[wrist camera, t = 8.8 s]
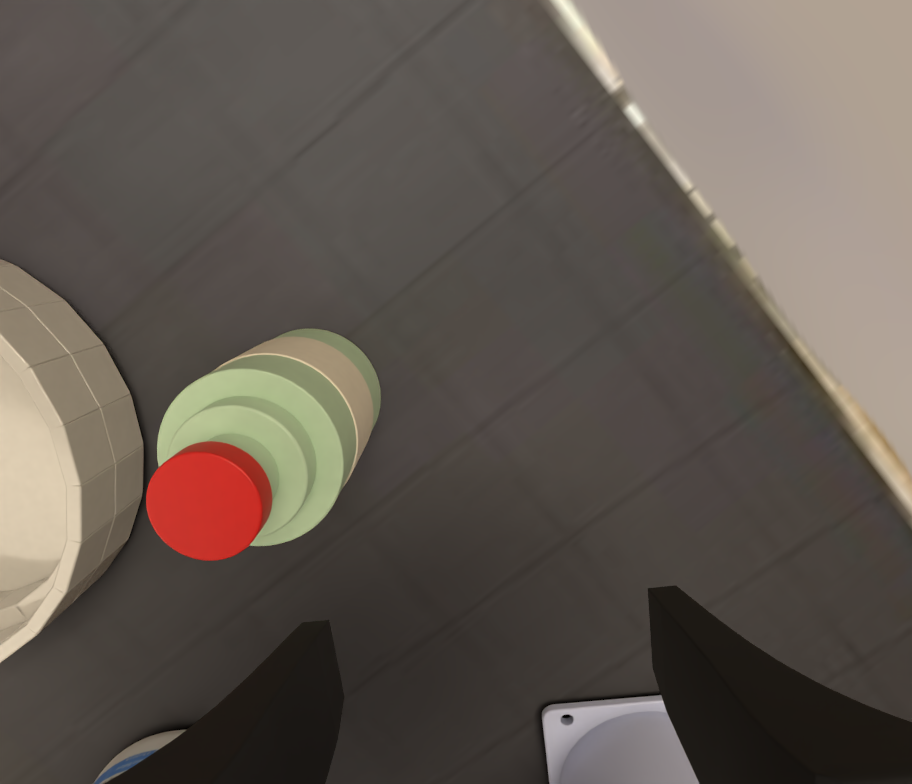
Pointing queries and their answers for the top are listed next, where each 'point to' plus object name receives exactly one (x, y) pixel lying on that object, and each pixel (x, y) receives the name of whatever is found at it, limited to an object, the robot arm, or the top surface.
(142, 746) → the supplement tub
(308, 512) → the bottle
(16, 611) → the pan
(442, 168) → the top surface
